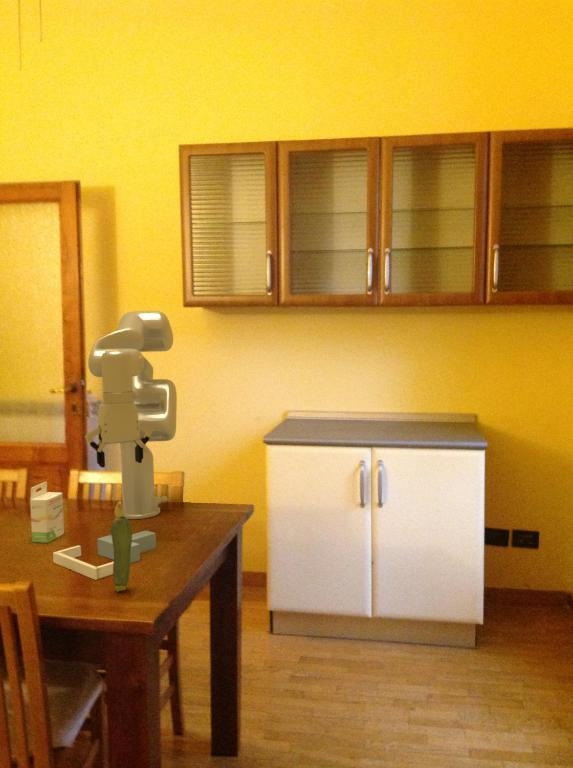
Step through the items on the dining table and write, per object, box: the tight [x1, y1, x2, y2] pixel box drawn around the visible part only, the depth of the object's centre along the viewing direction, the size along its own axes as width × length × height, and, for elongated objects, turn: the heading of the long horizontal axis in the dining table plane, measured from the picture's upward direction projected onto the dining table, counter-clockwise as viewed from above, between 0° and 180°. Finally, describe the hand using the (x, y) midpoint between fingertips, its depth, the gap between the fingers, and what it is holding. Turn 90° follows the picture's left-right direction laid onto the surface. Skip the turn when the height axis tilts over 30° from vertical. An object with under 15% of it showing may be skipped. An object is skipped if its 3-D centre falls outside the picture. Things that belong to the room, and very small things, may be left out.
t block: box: [96, 529, 157, 564], centre depth 174 cm, size 12×12×4 cm
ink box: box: [29, 481, 65, 544], centre depth 187 cm, size 9×5×15 cm, turn 168°
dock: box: [52, 545, 114, 581], centre depth 165 cm, size 7×18×2 cm, turn 49°
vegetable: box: [110, 500, 133, 593], centre depth 149 cm, size 4×4×20 cm
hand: (120, 464), depth 179 cm, fingers open, 9 cm apart
